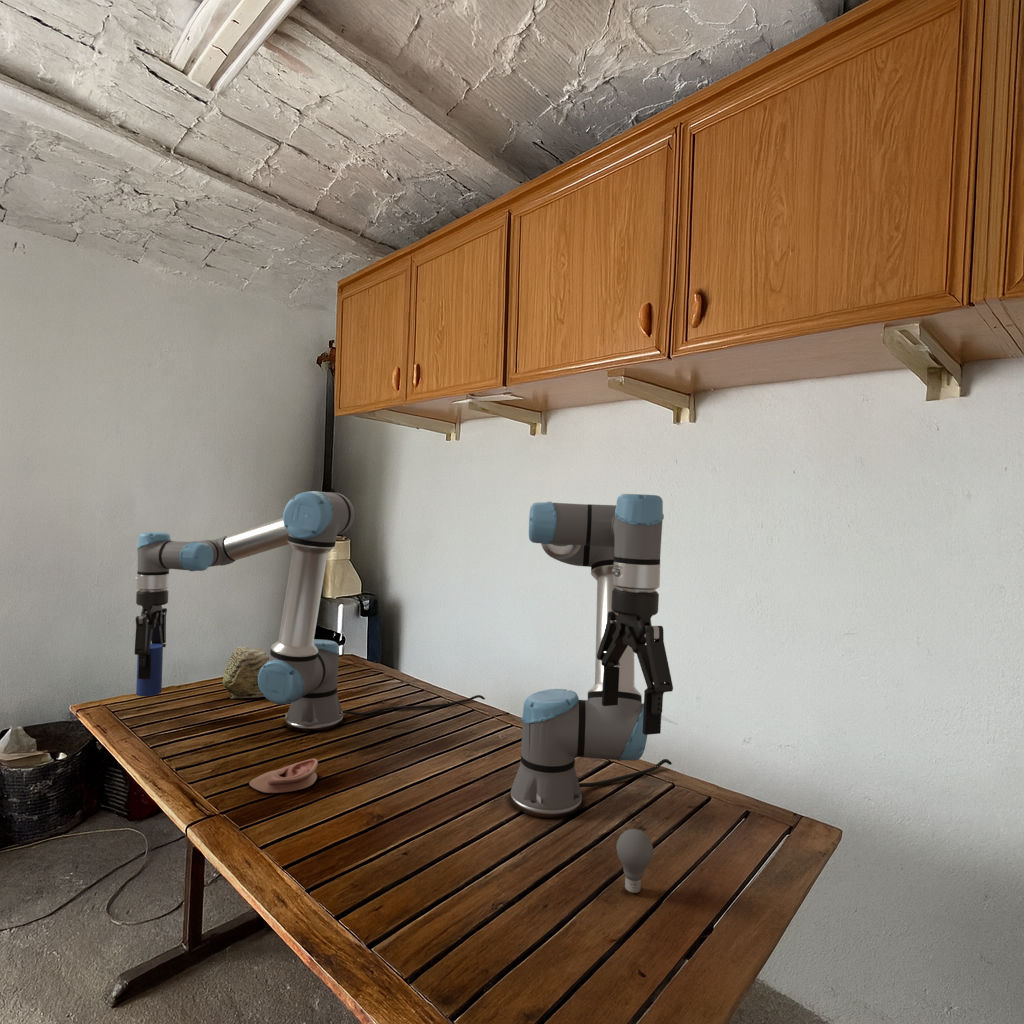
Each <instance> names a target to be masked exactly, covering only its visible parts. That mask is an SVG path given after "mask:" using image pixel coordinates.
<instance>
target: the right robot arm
mask: <svg viewBox="0 0 1024 1024" xmlns="http://www.w3.org/2000/svg"><path fill="white" fill-rule="evenodd" d="M664 516H665V514H664V501H663V498H662V497H661V496H660V495H656V494H639V493H621V494H619V495H618V496H617V498H616V504H593V503H591V504H589V503H586V504H584V503H568V502H567V503H565V502H552V501H546V502H543V501H542V502H540V501H539V502H533V503H532V504H531V505H530V508H529V515H528V540H529V541H530V542H531V543H533V544H540V545H541V547H542V550H543V551H544V553H546V555H548V556H549V557H550V558H552V559H553V560H556V561H558V562H560V563H564V564H568V565H571V566H575V567H576V566H577V567H585V568H586V567H587V568H590V575H591V577H593V578H594V579H595V580H596V583H597V584H596V592H597V593H596V618H595V619H596V620H595V621H596V624H595V626H596V627H595V661H594V662H595V665H594V666H595V667H594V670H595V671H594V685H593V686H592V687H590V689H589V690H588V691H587V699H580V698H579V696H578V693H577V692H576V691H574V690H570V689H566V688H565V689H564V688H550V689H544V690H539V691H536V692H533V693H531V694H530V695H528V696H527V697H526V699H525V700H524V702H523V710H522V715H521V722H522V729H521V746H520V747H521V749H520V763H519V766H518V769H517V772H516V774H515V776H514V780H513V783H512V786H511V789H510V802H511V804H512V806H513V807H514V808H515V809H517V810H518V811H519V812H521V813H522V814H523V813H524V814H526V815H528V816H533V817H535V818H536V817H537V818H541V819H542V818H543V819H560V818H565V817H570V816H572V815H574V814H575V813H578V811H580V809H581V807H582V803H583V802H582V800H583V796H582V795H583V794H582V790H581V788H593V787H599V786H604V785H608V784H609V785H610V784H612V783H616V782H620V781H624V780H628V779H632V778H635V777H639V776H642V775H646V774H649V773H651V772H654V771H656V770H658V768H660V767H661V766H662V765H664V764H668V766H669V765H673V763H672V761H671V760H670V759H668V758H663V759H661V760H660V761H659V762H658V763H656V764H655V765H654V766H652V767H649V768H646V769H643V770H638V771H635V772H632V773H628V774H624V775H620V776H616V777H612V778H609V779H604V780H599V781H594V782H579V779H578V775H577V772H576V767H575V766H576V758H589V759H599V760H611V761H618V762H622V761H633V762H634V761H638V760H640V759H641V758H642V757H643V755H644V752H645V750H646V745H647V740H648V735H660V734H661V732H662V729H661V728H662V714H663V703H664V694H665V693H670V692H673V690H674V684H673V680H672V675H671V670H670V666H669V661H668V657H667V652H666V651H667V650H666V646H665V641H664V626H663V625H652V618H653V617H654V616H656V615H657V614H658V613H659V603H660V602H659V600H660V593H659V592H658V591H657V590H658V589H659V588H660V587H661V585H660V584H661V552H662V535H663V520H664V518H665V517H664ZM635 654H636V655H637V660H638V663H639V667H640V669H641V672H642V675H643V679H644V681H645V684H646V688H645V690H644V691H643V692H644V694H643V695H642V693H641V692H640V691H639V690H638V689H637V688H636V685H635ZM642 697H643V698H642ZM642 699H643V700H642ZM655 766H656V767H655ZM657 766H658V767H657Z"/></svg>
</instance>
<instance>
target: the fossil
mask: <svg viewBox="0 0 1024 1024" xmlns="http://www.w3.org/2000/svg"><path fill="white" fill-rule="evenodd" d="M269 657H270V655H268V654H267V653H266V652H265V650H264V649H263V648H260V647H258V648H251V647H247V646H246V647H245V646H238V647H237V648H236V649H235V650H233V651H232V653H231V656H230V657H229V659H228V660H227V663H226V666H225V668H224V671H223V675H222V676H223V677H222V685H223V687H224V688H225V690H226V691H228V693H229V698H230V699H250V698H265V696H264V694H263V693H261V691H260V689H259V686H258V674H259V671H260V669H261V668H262V667H263V665H264V664H266V663H267V662H268V661H269Z"/></svg>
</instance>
